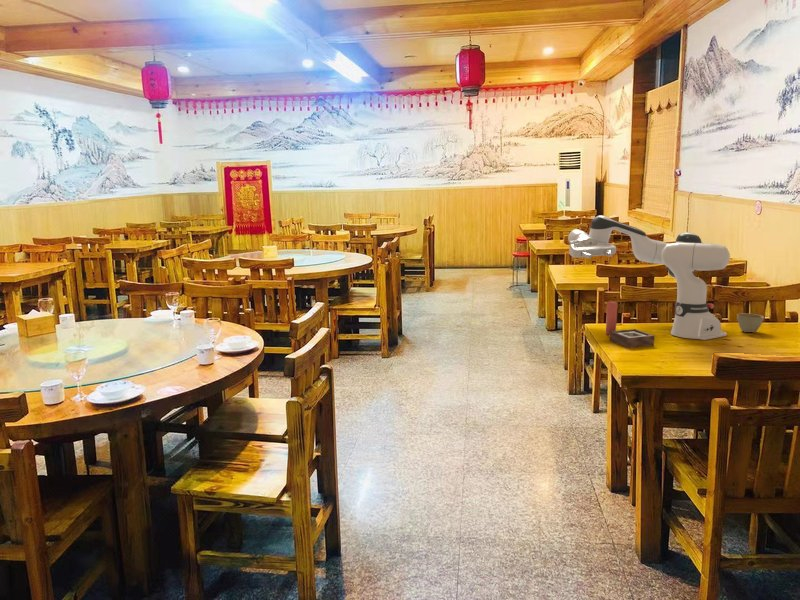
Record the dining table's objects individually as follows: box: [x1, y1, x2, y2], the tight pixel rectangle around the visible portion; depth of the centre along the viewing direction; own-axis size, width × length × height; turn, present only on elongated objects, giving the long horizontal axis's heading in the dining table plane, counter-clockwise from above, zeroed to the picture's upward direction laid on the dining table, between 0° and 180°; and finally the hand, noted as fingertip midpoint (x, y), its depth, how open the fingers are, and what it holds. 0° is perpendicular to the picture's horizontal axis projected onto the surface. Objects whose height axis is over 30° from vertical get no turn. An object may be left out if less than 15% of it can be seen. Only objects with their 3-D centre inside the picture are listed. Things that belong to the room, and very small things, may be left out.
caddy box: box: [609, 328, 655, 349], centre depth 254 cm, size 12×12×4 cm
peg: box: [605, 301, 618, 336], centre depth 268 cm, size 4×4×14 cm
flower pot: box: [736, 312, 765, 333], centre depth 270 cm, size 10×10×7 cm
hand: (599, 256), depth 279 cm, fingers open, 8 cm apart
